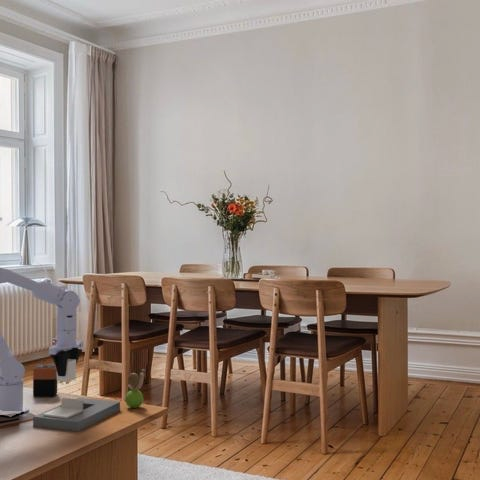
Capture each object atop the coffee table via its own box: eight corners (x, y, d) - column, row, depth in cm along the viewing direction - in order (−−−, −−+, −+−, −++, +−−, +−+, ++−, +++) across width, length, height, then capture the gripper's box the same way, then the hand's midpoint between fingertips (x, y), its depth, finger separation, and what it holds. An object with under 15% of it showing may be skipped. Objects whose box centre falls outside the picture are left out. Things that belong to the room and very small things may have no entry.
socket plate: (33, 425, 171) (33, 416, 171) (78, 405, 191) (78, 397, 191) (77, 431, 166) (78, 421, 166) (119, 410, 187) (120, 401, 187)
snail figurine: (137, 411, 186) (138, 370, 186) (121, 408, 189) (121, 368, 189) (149, 407, 190) (150, 367, 190) (133, 404, 194) (133, 365, 194)
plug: (56, 383, 190) (56, 360, 190) (64, 380, 194) (65, 358, 194) (67, 384, 189) (68, 361, 189) (75, 381, 193) (76, 359, 193)
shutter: (42, 415, 171) (43, 405, 171) (61, 407, 179) (61, 397, 179) (67, 418, 169) (67, 407, 169) (85, 410, 177) (85, 400, 177)
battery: (54, 397, 202) (54, 365, 202) (32, 397, 201) (33, 365, 201) (57, 393, 206) (57, 363, 206) (36, 393, 206) (36, 363, 206)
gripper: (63, 333, 183) (62, 380, 183) (91, 327, 197) (91, 371, 197) (43, 332, 186) (42, 378, 186) (72, 325, 199) (72, 369, 199)
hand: (66, 374), depth 191 cm, fingers closed on plug, 4 cm apart
